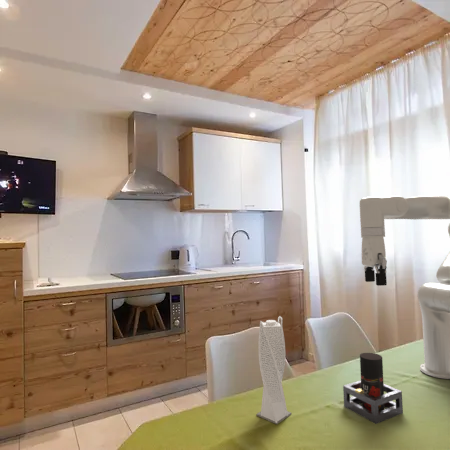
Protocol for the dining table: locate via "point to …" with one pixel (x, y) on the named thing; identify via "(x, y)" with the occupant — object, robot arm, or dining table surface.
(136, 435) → the dining table surface
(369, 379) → the deodorant
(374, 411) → the grey open cube frame
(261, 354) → the skyscraper
